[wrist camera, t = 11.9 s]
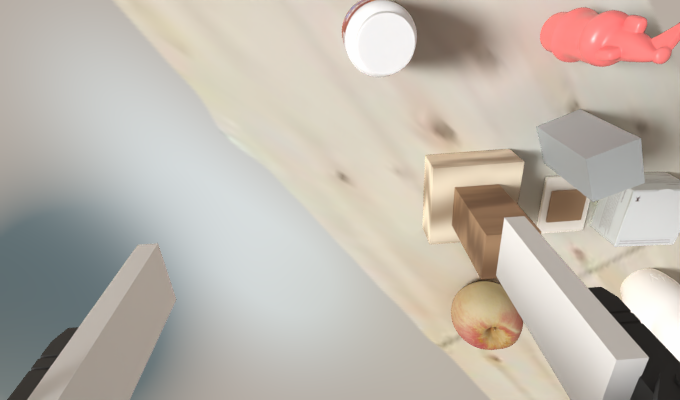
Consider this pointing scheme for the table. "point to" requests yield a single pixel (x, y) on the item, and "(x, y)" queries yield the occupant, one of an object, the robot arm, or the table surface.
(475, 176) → the birch base
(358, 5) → the pill bottle
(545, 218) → the tile
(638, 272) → the figurine
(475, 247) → the walnut pillar
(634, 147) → the slate pillar
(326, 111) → the table surface
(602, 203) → the small box
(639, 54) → the figurine
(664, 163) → the table surface
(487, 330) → the apple
